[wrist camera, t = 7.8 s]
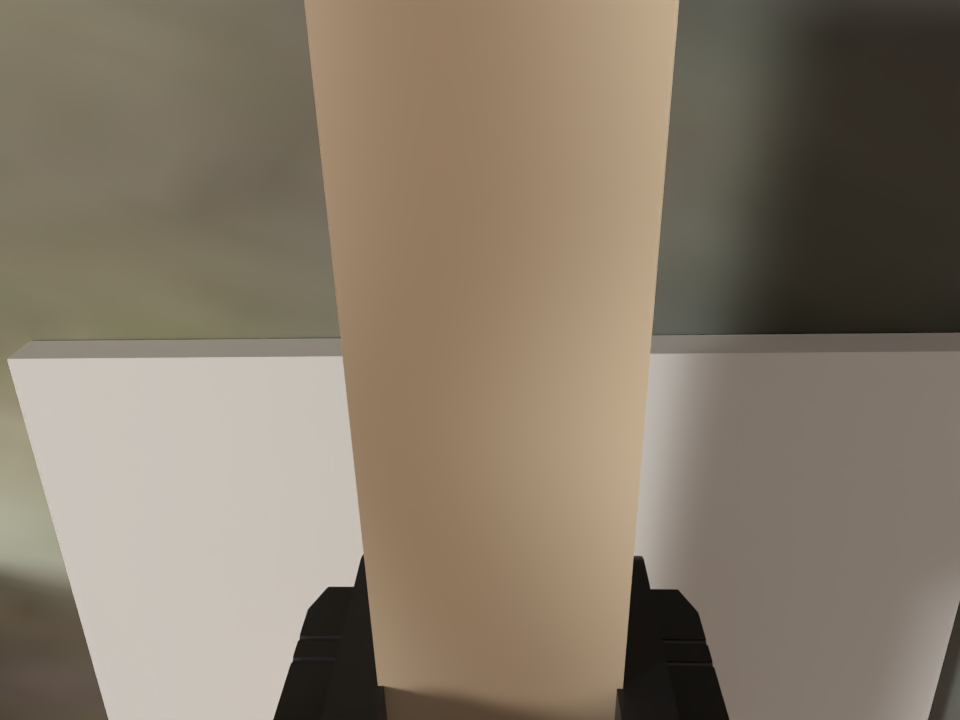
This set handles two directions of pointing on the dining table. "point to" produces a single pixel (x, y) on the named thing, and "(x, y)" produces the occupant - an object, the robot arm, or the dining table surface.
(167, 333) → the dining table surface
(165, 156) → the dining table surface
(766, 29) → the dining table surface
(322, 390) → the white panel
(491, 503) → the oak stick
